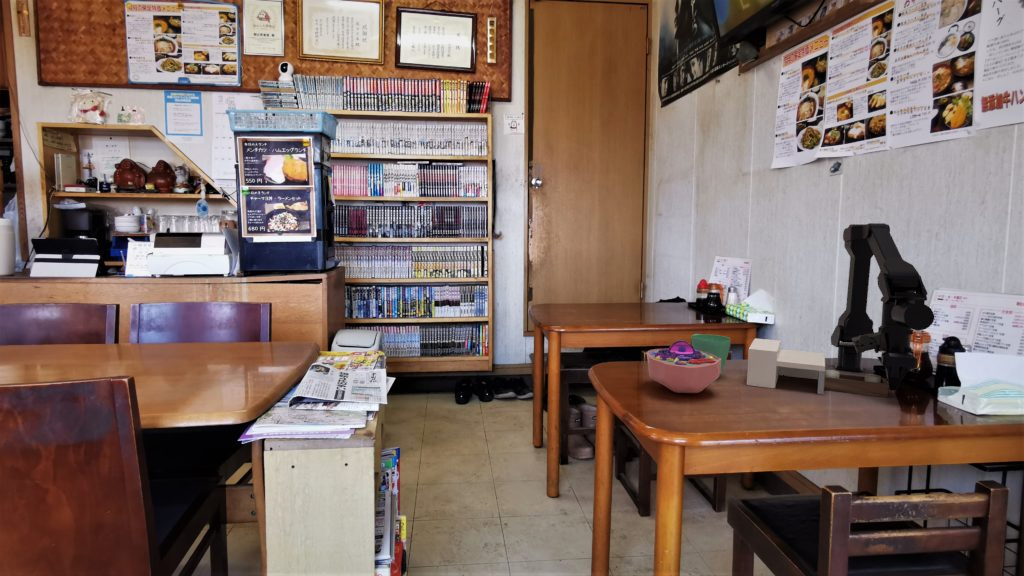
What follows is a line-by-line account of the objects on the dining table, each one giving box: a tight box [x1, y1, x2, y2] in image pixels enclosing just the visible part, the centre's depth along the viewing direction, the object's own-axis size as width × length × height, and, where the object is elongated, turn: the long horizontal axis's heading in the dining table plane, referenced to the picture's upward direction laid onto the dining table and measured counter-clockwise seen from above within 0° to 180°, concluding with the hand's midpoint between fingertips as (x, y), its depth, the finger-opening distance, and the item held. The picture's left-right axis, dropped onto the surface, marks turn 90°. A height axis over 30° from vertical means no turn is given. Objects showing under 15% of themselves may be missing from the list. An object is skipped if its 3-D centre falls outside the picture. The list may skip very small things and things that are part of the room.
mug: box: [690, 333, 732, 377], centre depth 149 cm, size 15×10×10 cm
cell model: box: [645, 340, 721, 394], centre depth 132 cm, size 17×20×11 cm
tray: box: [818, 369, 889, 398], centre depth 134 cm, size 6×14×4 cm, turn 62°
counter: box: [746, 337, 826, 395], centre depth 141 cm, size 16×16×9 cm
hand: (892, 390), depth 131 cm, fingers closed, pressing on tray
